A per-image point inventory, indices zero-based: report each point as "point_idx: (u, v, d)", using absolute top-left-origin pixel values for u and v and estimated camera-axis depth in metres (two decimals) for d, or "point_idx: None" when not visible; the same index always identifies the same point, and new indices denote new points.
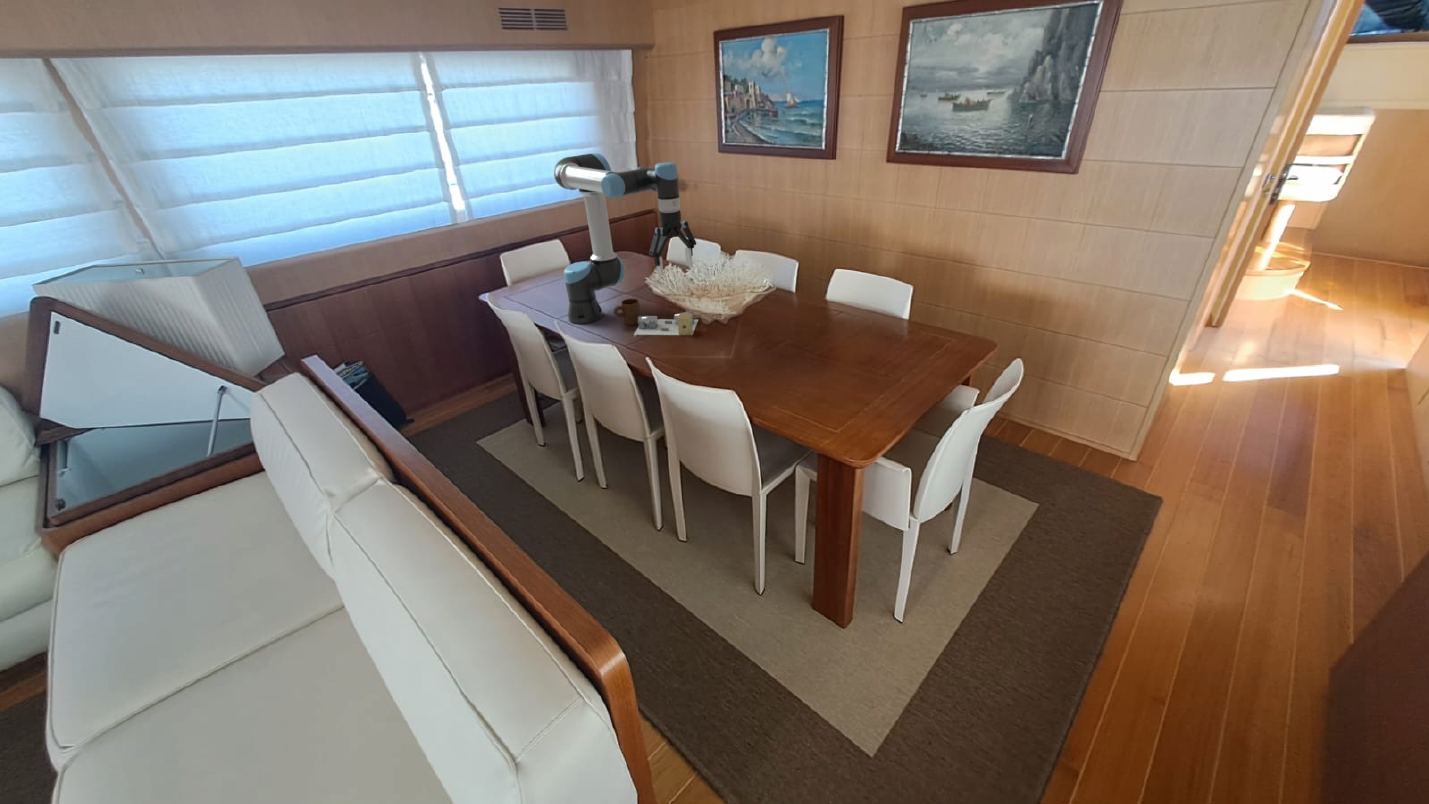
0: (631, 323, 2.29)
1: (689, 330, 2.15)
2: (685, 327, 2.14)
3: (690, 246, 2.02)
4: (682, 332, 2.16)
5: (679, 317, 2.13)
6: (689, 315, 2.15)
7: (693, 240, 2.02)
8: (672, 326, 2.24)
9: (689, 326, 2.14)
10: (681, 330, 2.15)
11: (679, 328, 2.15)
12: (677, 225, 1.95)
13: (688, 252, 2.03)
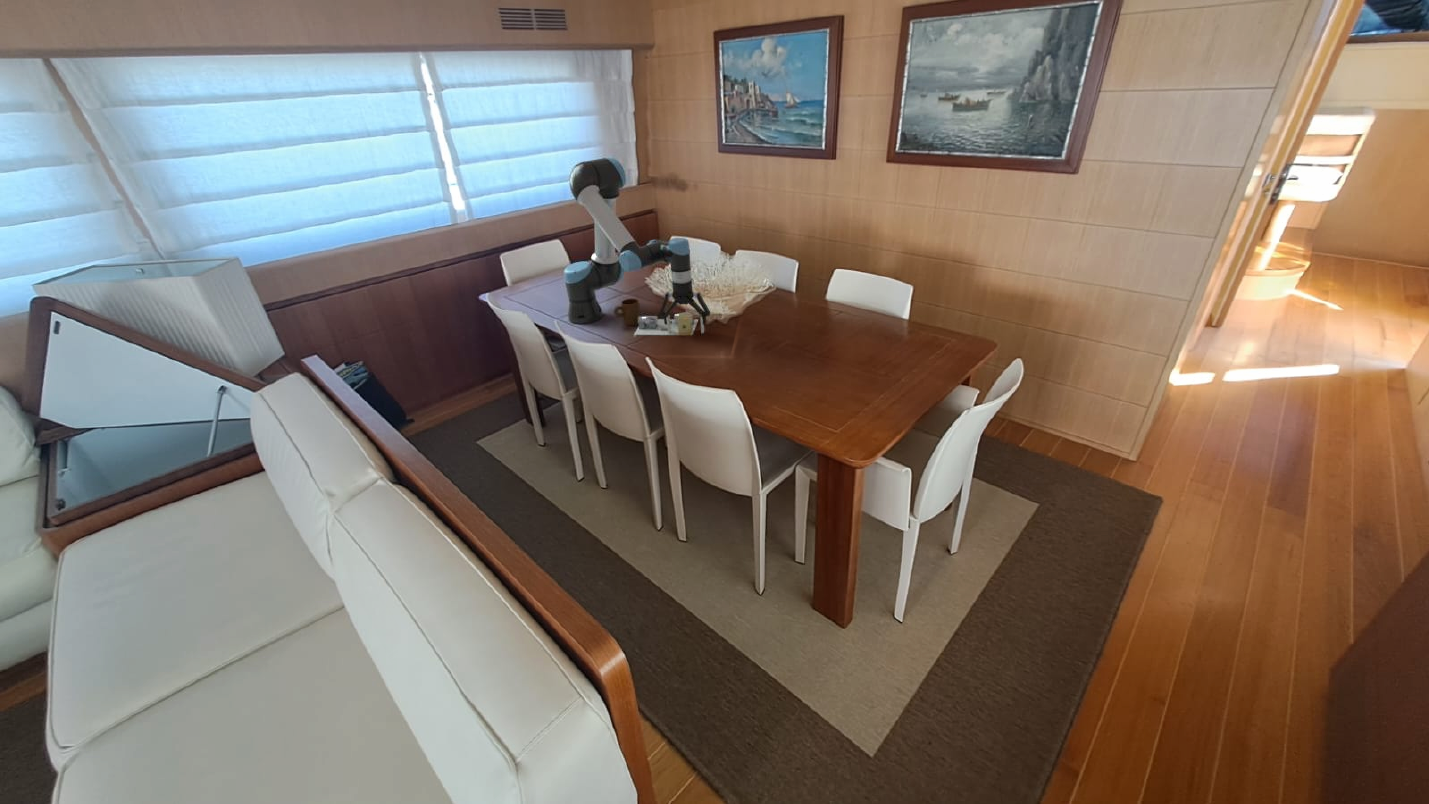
0: (631, 323, 2.29)
1: (689, 330, 2.15)
2: (685, 327, 2.14)
3: (702, 316, 2.12)
4: (682, 332, 2.16)
5: (679, 317, 2.13)
6: (689, 315, 2.15)
7: (705, 311, 2.11)
8: (672, 326, 2.24)
9: (689, 326, 2.14)
10: (681, 330, 2.15)
11: (679, 328, 2.15)
12: (687, 295, 2.09)
13: None
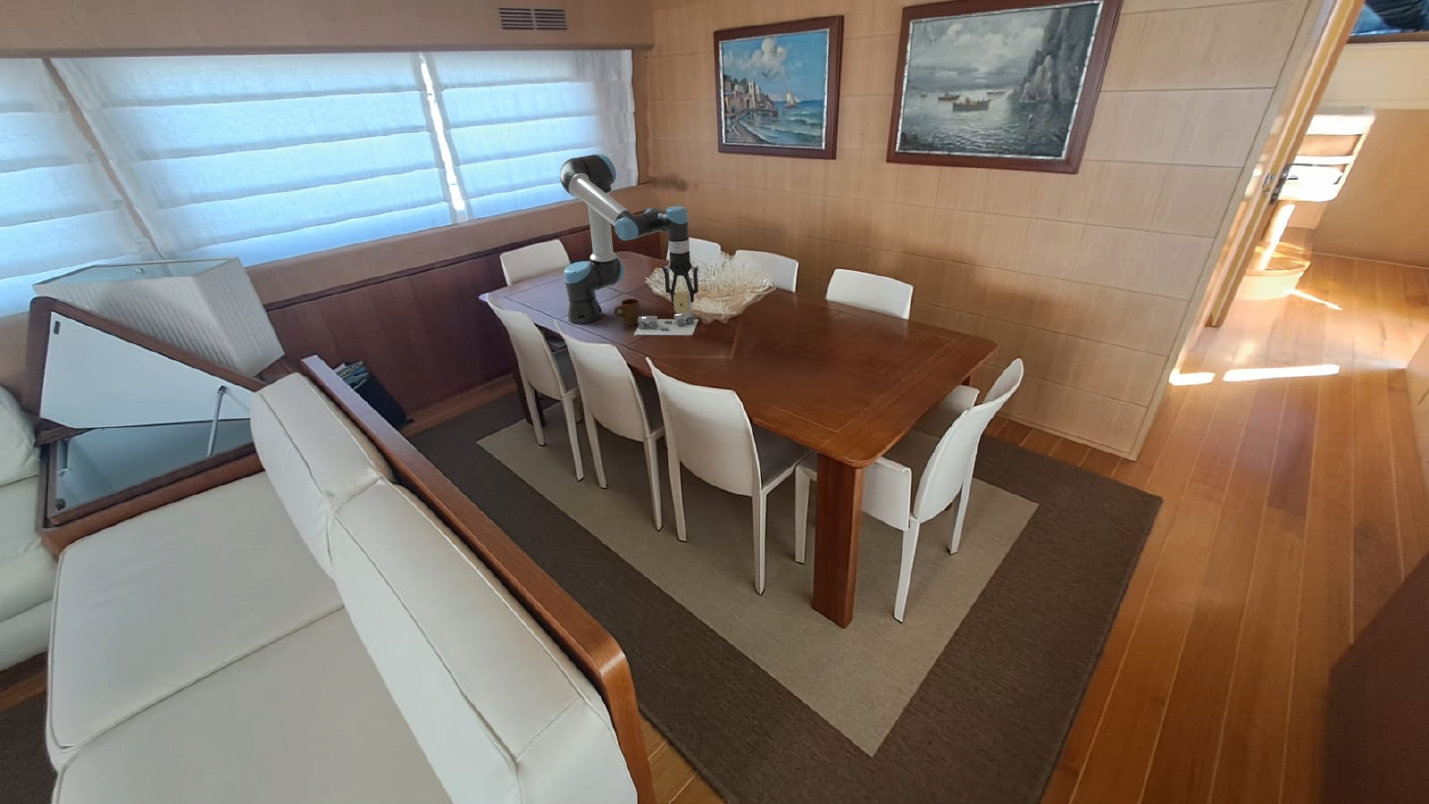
0: (631, 323, 2.29)
1: (686, 308, 2.10)
2: (682, 305, 2.10)
3: (689, 292, 2.08)
4: (679, 310, 2.11)
5: (676, 295, 2.09)
6: (687, 293, 2.10)
7: (695, 288, 2.07)
8: (672, 326, 2.24)
9: (687, 304, 2.09)
10: (678, 309, 2.11)
11: (676, 306, 2.10)
12: (685, 264, 2.03)
13: None
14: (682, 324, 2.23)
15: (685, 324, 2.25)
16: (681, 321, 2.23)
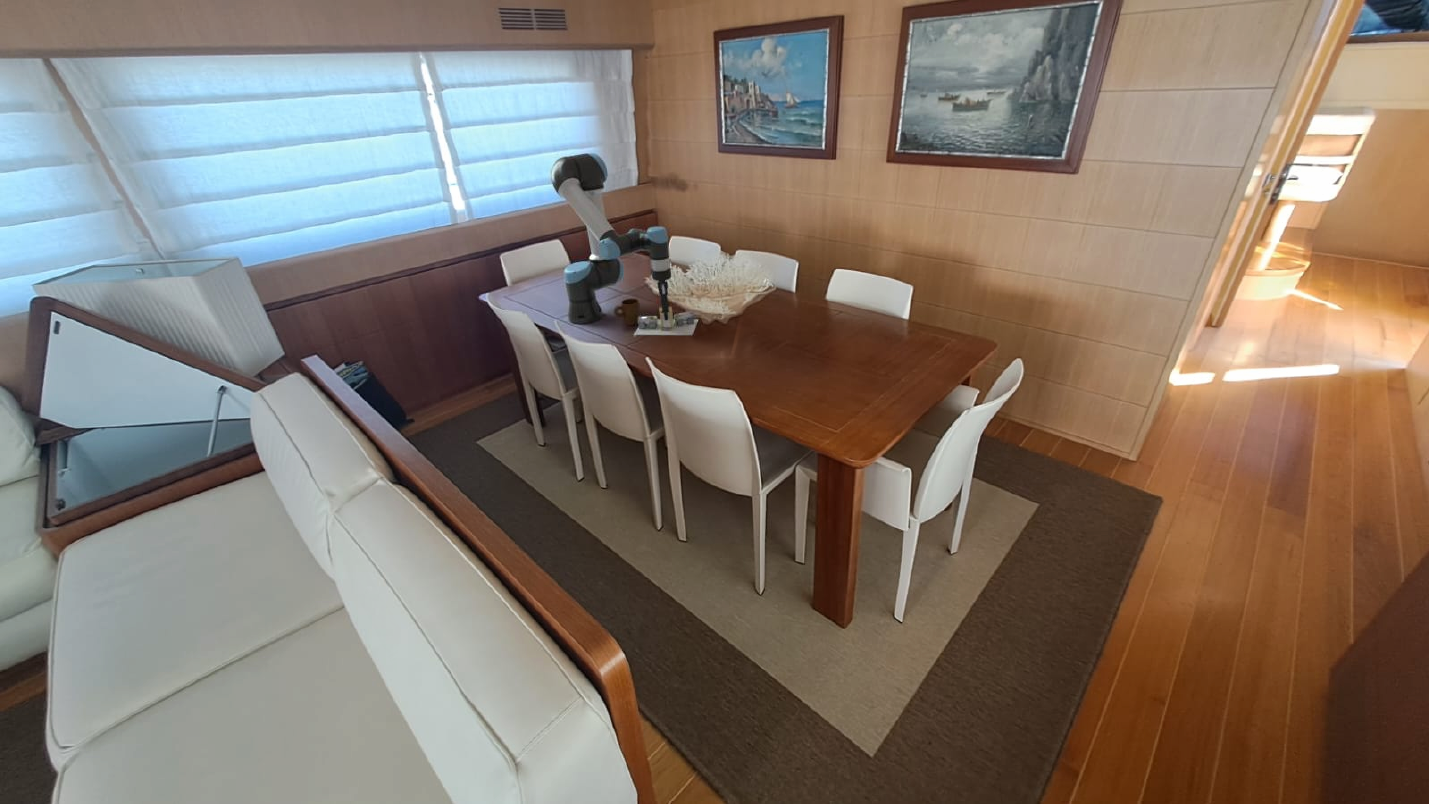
0: (631, 323, 2.29)
1: None
2: None
3: (667, 303, 2.22)
4: None
5: (669, 310, 2.18)
6: None
7: None
8: None
9: None
10: None
11: None
12: None
13: None
14: (682, 324, 2.23)
15: (685, 324, 2.25)
16: (681, 321, 2.23)
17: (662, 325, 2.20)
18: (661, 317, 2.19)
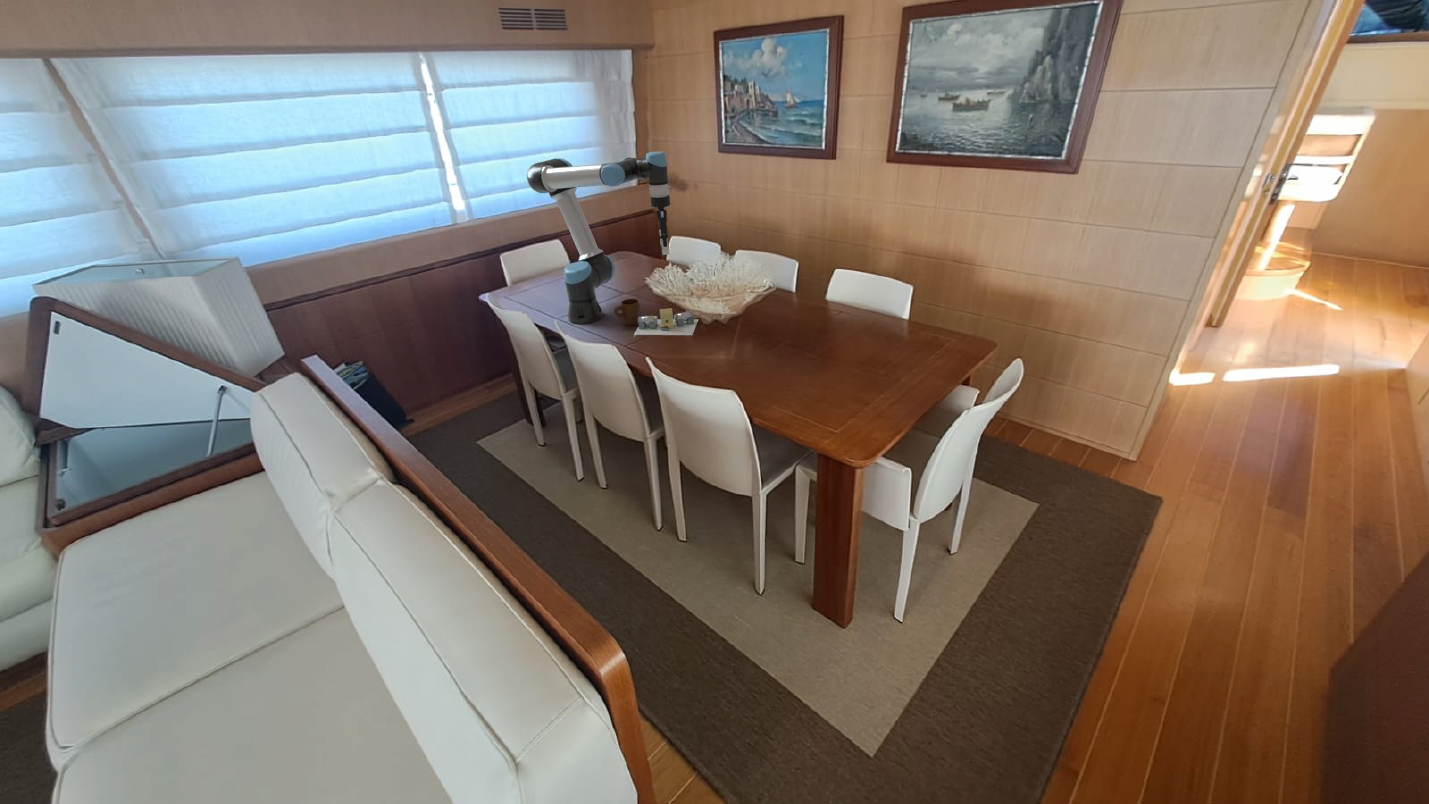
0: (631, 323, 2.29)
1: None
2: None
3: None
4: None
5: (670, 312, 2.19)
6: (664, 309, 2.22)
7: None
8: None
9: None
10: (673, 323, 2.22)
11: None
12: None
13: None
14: (682, 324, 2.23)
15: (685, 324, 2.25)
16: (681, 321, 2.23)
17: (662, 327, 2.21)
18: (661, 319, 2.19)
